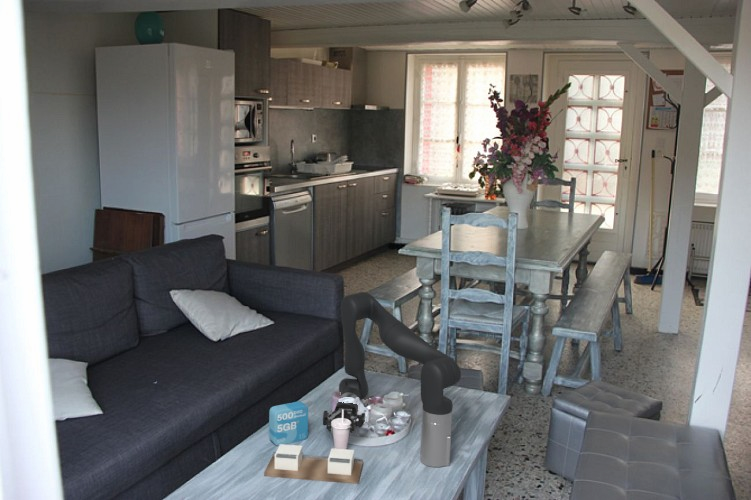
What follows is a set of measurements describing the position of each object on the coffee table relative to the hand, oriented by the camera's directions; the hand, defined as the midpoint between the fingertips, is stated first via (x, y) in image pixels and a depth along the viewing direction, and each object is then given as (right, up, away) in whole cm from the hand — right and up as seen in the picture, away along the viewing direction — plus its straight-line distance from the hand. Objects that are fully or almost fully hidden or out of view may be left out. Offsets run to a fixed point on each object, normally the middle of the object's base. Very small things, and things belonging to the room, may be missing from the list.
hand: (340, 429), depth 217 cm
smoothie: (0, -8, +4) cm, 9 cm away
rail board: (-7, -11, -7) cm, 15 cm away
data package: (-18, -7, +12) cm, 22 cm away
